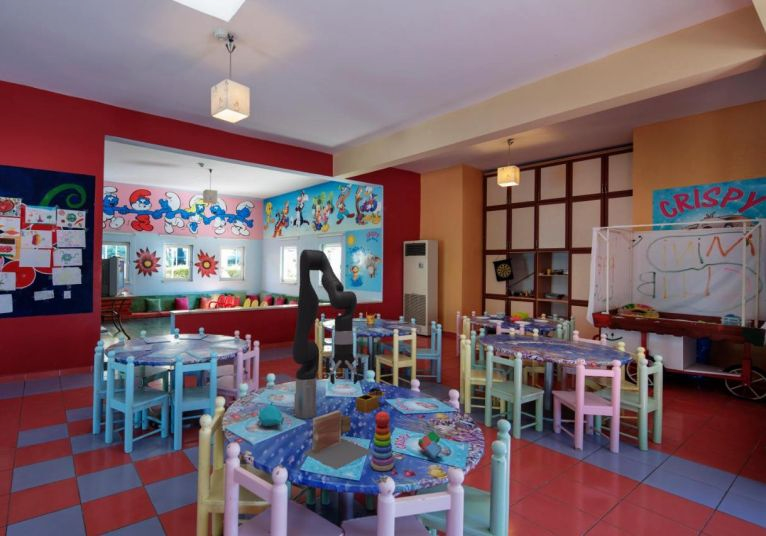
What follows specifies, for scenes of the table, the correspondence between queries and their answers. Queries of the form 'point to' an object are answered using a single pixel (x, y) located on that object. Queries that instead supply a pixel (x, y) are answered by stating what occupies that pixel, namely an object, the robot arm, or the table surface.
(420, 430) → the table surface
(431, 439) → the building blocks
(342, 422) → the block
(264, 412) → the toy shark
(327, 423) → the tile
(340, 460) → the mat
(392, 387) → the table surface
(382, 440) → the stacking toy
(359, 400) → the spider toy trap
